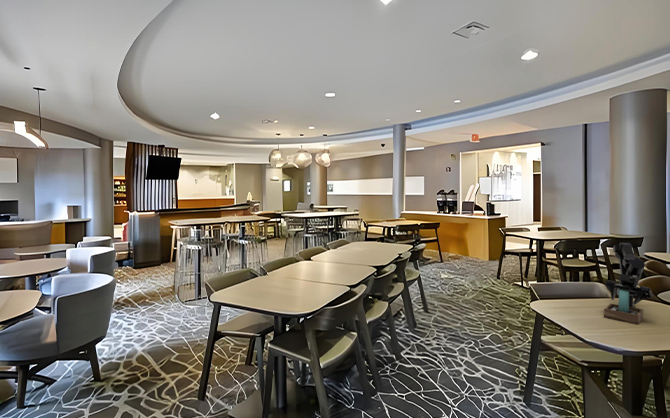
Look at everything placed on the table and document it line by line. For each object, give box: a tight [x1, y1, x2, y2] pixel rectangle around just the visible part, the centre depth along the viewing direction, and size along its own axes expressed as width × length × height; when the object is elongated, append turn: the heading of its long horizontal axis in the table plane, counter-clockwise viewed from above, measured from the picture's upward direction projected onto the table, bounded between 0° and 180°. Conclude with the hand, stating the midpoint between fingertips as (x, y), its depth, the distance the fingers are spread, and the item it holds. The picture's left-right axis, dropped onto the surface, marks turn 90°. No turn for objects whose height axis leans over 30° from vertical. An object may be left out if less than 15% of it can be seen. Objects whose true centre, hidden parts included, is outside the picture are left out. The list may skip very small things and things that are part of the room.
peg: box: [618, 290, 629, 313], centre depth 180 cm, size 4×4×13 cm
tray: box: [603, 302, 644, 325], centre depth 180 cm, size 14×14×4 cm
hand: (622, 301), depth 179 cm, fingers open, 9 cm apart
